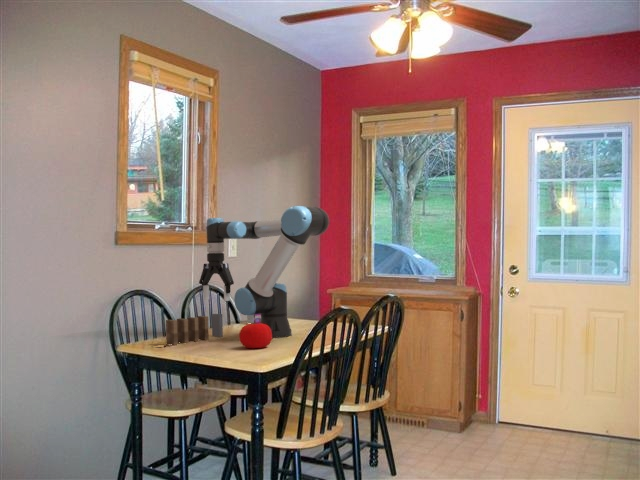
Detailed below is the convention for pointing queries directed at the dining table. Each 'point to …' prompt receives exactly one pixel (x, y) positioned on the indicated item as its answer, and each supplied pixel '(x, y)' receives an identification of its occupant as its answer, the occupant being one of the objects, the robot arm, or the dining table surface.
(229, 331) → the dining table surface
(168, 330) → the domino
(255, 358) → the dining table surface
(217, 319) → the domino
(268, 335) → the tomato
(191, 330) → the domino
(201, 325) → the domino
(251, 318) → the candy bar box
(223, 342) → the dining table surface
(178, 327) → the domino
